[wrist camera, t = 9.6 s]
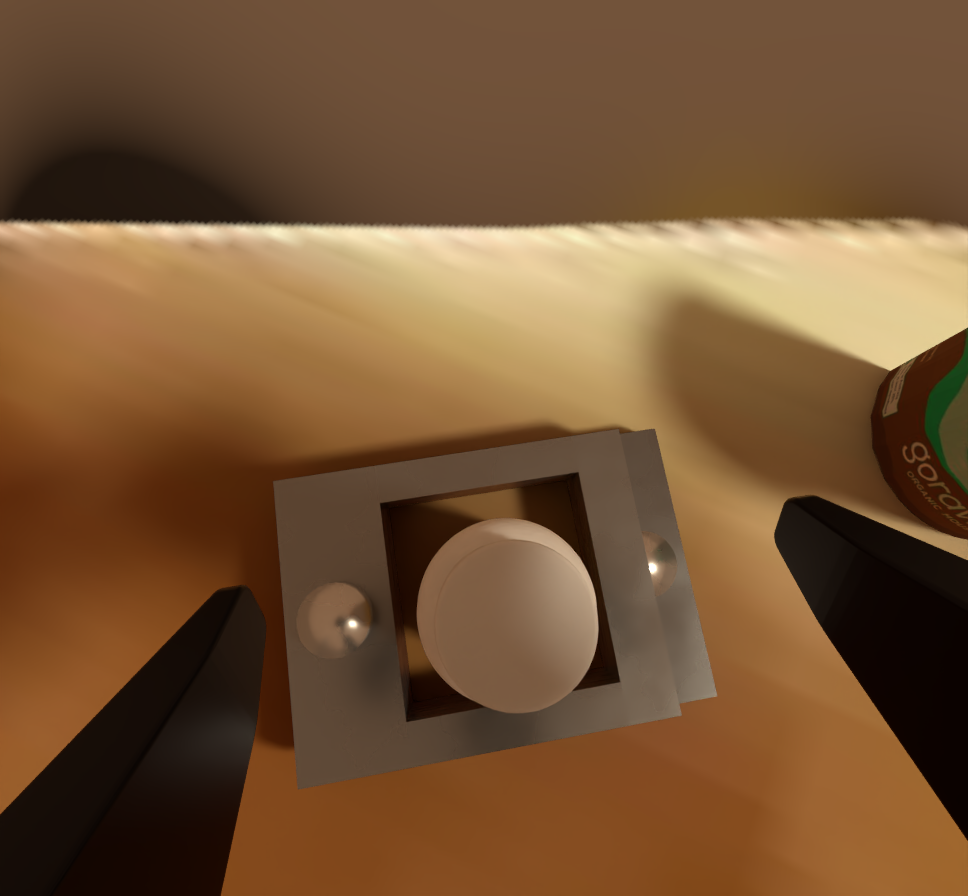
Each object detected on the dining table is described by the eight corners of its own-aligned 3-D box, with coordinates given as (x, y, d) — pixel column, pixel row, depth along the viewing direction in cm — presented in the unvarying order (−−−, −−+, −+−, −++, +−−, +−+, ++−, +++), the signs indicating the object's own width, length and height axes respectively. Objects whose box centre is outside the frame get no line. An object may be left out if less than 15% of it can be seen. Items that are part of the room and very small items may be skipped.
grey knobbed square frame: (645, 434, 23) (673, 416, 20) (703, 687, 21) (745, 712, 18) (294, 488, 22) (265, 478, 19) (317, 760, 20) (289, 800, 17)
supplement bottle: (578, 564, 22) (666, 576, 12) (521, 681, 21) (568, 795, 11) (469, 505, 22) (472, 471, 12) (408, 617, 21) (360, 674, 11)
